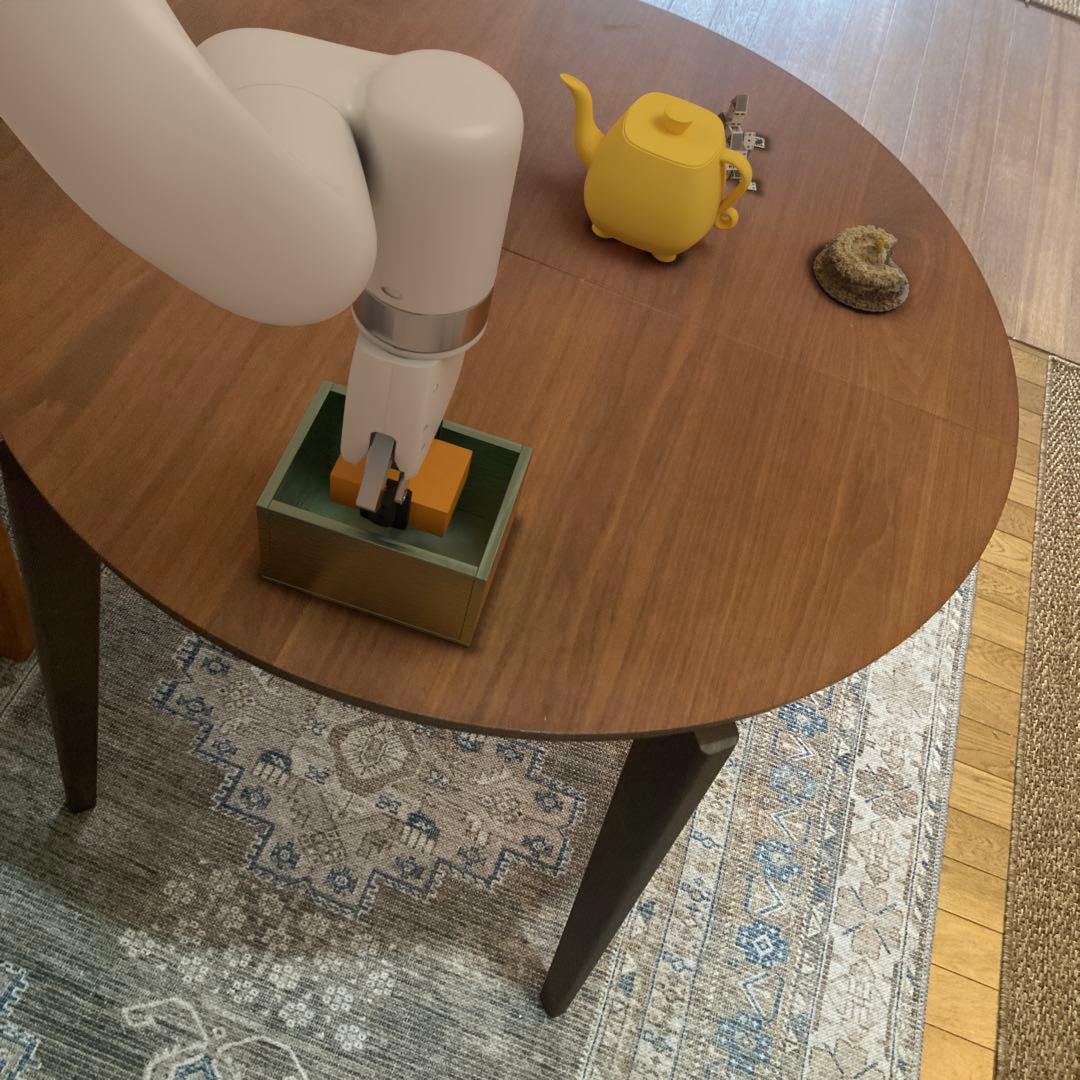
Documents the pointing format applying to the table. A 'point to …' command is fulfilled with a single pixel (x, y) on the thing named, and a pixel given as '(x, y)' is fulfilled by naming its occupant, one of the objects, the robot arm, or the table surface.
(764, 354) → the table surface
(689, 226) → the teapot
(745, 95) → the house of cards
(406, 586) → the bin
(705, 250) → the table surface
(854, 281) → the cake
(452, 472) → the block
